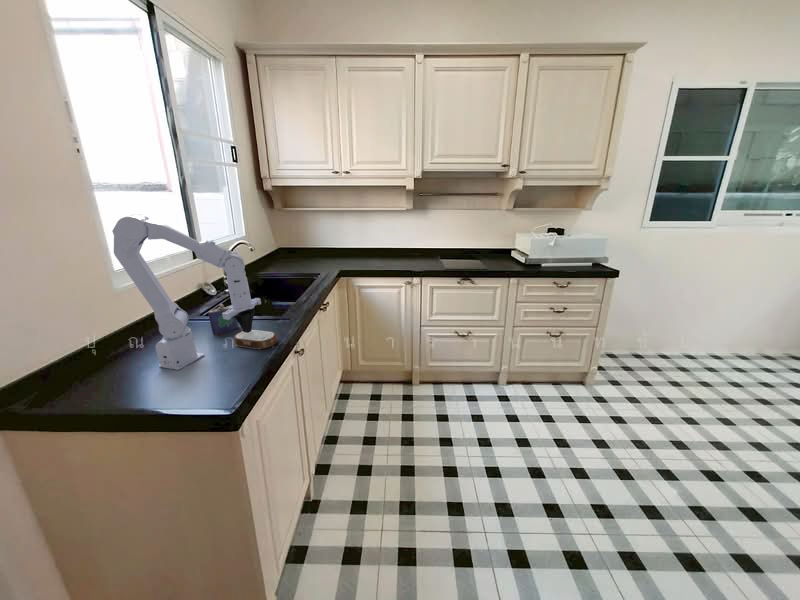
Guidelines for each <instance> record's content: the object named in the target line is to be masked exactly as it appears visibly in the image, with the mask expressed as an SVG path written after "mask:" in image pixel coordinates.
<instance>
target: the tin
mask: <svg viewBox="0 0 800 600" xmlns="http://www.w3.org/2000/svg"><path fill="white" fill-rule="evenodd" d="M233 340H234V345H237V346H236V347H240V346H242V347H241V348H247V347H249V349H254V348H256V350H261V349H266V348H270V347H272V346H274V345H275V344H277V342H278V338H277V335H276V333H275V332H274V331H270V330H262V329H253V328H252V330H251V332H249V333H245V332H243V330H242V331H240V332H238V333H236V334H234V336H233Z"/></svg>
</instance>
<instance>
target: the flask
mask: <svg viewBox="0 0 800 600" xmlns="http://www.w3.org/2000/svg"><path fill="white" fill-rule="evenodd" d="M231 307H232V304H231V305H228V306H226V307H225V305H224V304H223V303H220V304H219V306H218V307H217V308H215V309H211V310H209V311H208V312H207V315H208V319H209V324H210V327H211V332H212V335H213V336H220V335H224V334H227V333H229V332H233V331H235V330H238V329H239V328H240V324H239V323H238V322H237V320H236V319H235V318H234V317H231V319H229V320H226V319H223V315H222V313H224V312H226V311H227V310H228V309H229V308H231Z"/></svg>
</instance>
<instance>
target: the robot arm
mask: <svg viewBox="0 0 800 600" xmlns="http://www.w3.org/2000/svg"><path fill="white" fill-rule="evenodd" d="M112 234H113V255H114V256H115V257H116V259H117V261H118V262H119V264H120V265H121V267H122V268H123V269H124V270H125V272H126V274H127V275H128V276H129V278H130V279H131V281H132V282H133V283H134V285H135V286H136V287H137V289H138V291H139V292H140V293H141V295H142V296H143V298H144V299H145V301H146V302H147V303H148V304H149V306H150V307H151V309H152V310H153V312H154V313H153V314H154V318H155V319H154V320H155V321H156V323H157V324H158V332H159V334H161V335H162V339H160V341H158V342H157V343H156V344H155V346H154V348H155V352H156V355H157V359H158V361H159V365H158V367H159V368H165V369H171V370H174V371H175V370H177V371H178V370H181V369H183V368H184V367H186V366H188V365H190V364H192V363H193V362H195V361H197V360H199V359H201V358H203V357H204V356H205V353H202V352H198V351H197V349H196V344H195V341H194V336H193V332H192V329H191V328H190V326H188V323H189V320H190V319H189V314H188V312H187V311H185V310H184V309H182V308H181V307H180V306H179V305H178V304H177V303H176V302H174V301H173V300H172V298H171V297H170V296H169V295H168V293H167V291H166V290H165V288H164V287H163V286H162V284H161V283H160V281H159V280H158V278H157V277H156V275H155V274H154V272H153V271H152V269H151V268H150V267H149V264H147V261H146V260H145V259H144V257H143V255H142V254H141V253H140V252H141V249H142V247H143V244H145V243H144V242H145V241H146V240H150V241H151V240H165V241H166V242H170V243H172V244H174V245H178V246H179V247H182V248H184V249H187V250H189V251H191V252H194V254H195V256H196V258H197V259H199V260H201V261H203V262H205V263H208V264H210V265H212V266H215V267H217V268H218V269H219V268H222V269H223V271H224V272H225V275H226V278H227V279H226V282H227V283H226V284H227V287H228V293H229V297H230V301H231V305H232V307H231V308H229V309H228V310H227V311H226V312H224V313H222V315H223V319H226V320H229V319H231V317H234V318H235V319H236V320H237V322H238V325H239V327H240V328H241V329H242V331H243V332H245V333H249V332H251V330H252V329H253V328H252V327H253V321H254V320H253V319H254V318H255V317H254V316H255V314H256V309H255V306H257V305H262V301H261V298H260V297H255V298H252V297H251V293H250V286H249V282H248V281H249V280H248V277H247V276H246V275H247V274H246V270H245V268H246V265H245V261H244V258H243V257H242V255H240V254H238V253H237V252H235V251H234V252H233V251H232V250H231V249H228V250H227V249H225V248H223V247H221V246H218V245H216V241H213V240H210V241H209V240H203V241H198V240H197V239H194V238H192V237H191V236H188V235H187V234H184V233H183V232H181V231H179V230H177V229H175V228H173V227H171V226H169V225H167V224H165V223H163V222H161V221H159V220H156V219H153V218H149V217H147V216H146V215H144V214H138V213H137V214H132V215H130V216H124V217H121V218H119V219H118V221H117V222H116V223H115V225H114V226H113V229H112Z"/></svg>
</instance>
